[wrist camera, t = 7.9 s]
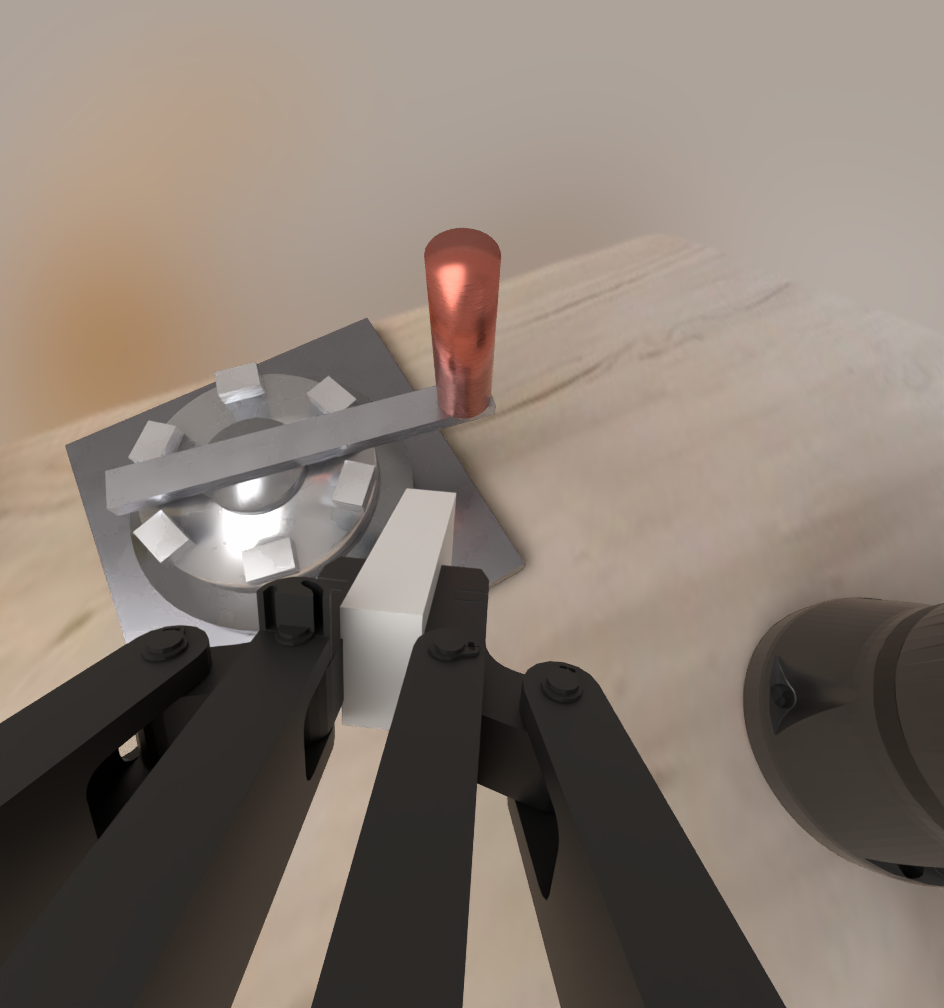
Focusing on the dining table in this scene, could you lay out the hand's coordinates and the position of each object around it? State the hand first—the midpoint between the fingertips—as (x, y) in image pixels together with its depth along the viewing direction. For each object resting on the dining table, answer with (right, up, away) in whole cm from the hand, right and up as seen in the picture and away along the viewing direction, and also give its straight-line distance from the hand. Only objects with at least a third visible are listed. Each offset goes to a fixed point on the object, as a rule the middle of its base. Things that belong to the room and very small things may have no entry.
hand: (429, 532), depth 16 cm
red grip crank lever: (-8, +3, +18) cm, 20 cm away
